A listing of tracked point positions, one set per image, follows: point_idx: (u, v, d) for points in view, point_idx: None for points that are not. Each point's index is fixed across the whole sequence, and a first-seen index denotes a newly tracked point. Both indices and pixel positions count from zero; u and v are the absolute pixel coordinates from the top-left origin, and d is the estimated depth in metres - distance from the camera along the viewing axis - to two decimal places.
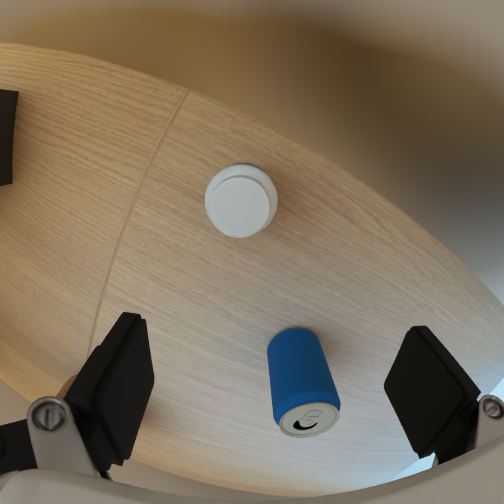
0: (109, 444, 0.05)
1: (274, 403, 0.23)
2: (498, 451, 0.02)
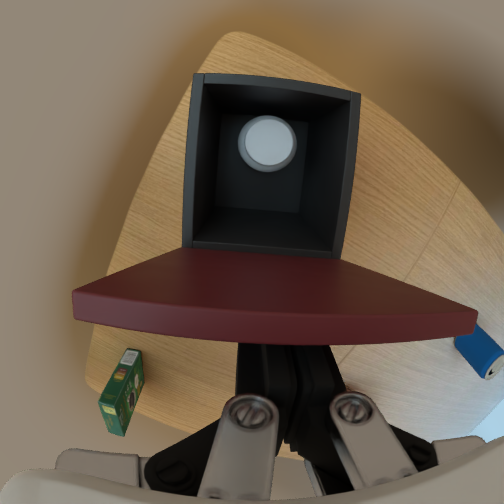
0: None
1: (482, 362, 0.32)
2: (498, 451, 0.02)
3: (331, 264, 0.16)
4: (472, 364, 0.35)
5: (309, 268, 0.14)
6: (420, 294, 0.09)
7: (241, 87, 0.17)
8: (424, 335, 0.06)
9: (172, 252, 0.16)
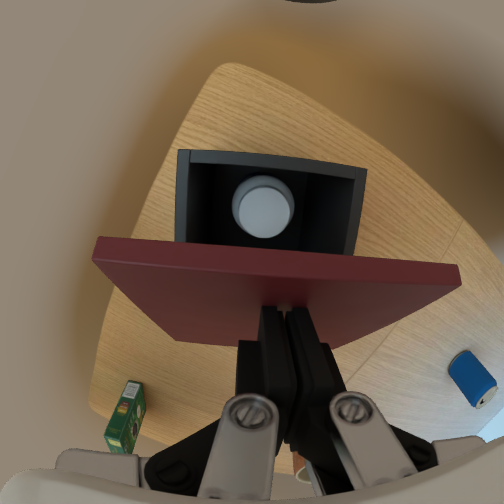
0: None
1: (474, 392, 0.32)
2: (498, 451, 0.02)
3: None
4: (464, 393, 0.35)
5: None
6: None
7: None
8: (412, 278, 0.07)
9: None
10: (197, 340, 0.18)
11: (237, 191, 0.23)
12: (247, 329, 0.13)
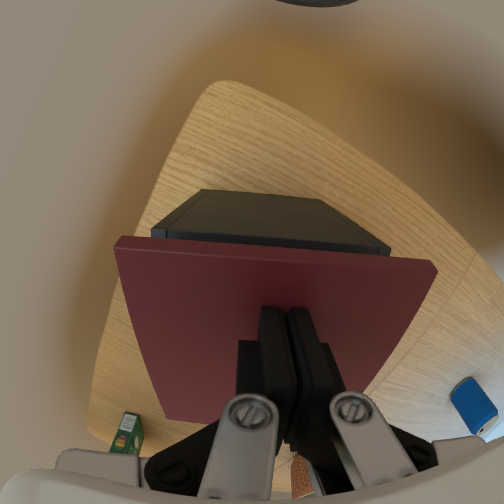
0: None
1: (474, 422, 0.29)
2: (498, 451, 0.02)
3: None
4: (465, 421, 0.32)
5: None
6: None
7: None
8: (389, 265, 0.09)
9: None
10: (190, 415, 0.15)
11: None
12: None
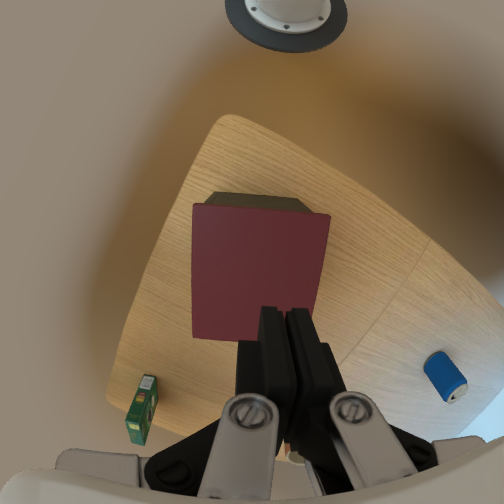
0: None
1: (445, 389, 0.40)
2: (498, 451, 0.02)
3: None
4: (437, 389, 0.43)
5: None
6: None
7: None
8: (304, 213, 0.23)
9: None
10: (210, 328, 0.27)
11: None
12: (244, 284, 0.25)
